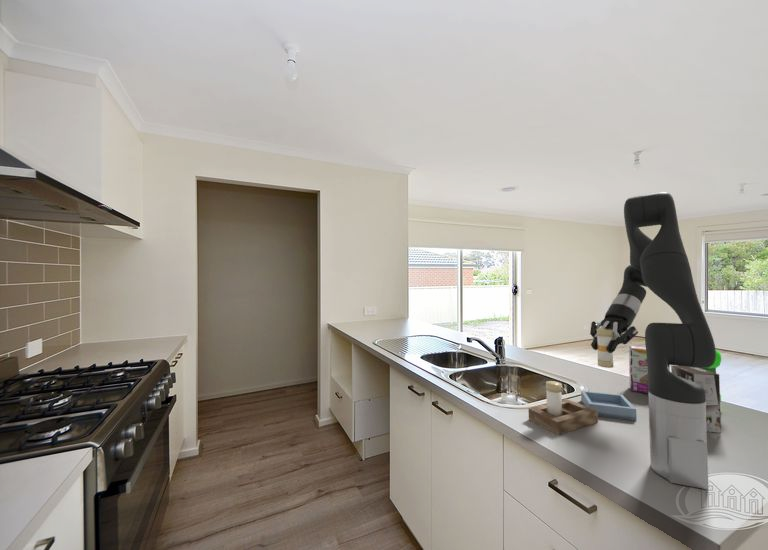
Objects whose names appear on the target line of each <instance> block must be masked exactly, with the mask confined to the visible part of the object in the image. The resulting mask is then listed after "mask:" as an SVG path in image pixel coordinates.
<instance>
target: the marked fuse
mask: <svg viewBox="0 0 768 550" xmlns="http://www.w3.org/2000/svg"><path fill="white" fill-rule="evenodd" d="M612 337H613V332H612V329H606V328H601V327H600V328H597V366H598V367H600V368H606V369H607V368H608V369H612V368H614V357H613V356H614V352H612V353H608V351H607V350H606V348H607V346H608V344H609V342H610V341H611V340H613V339H612Z"/></svg>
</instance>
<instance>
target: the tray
mask: <svg viewBox="0 0 768 550" xmlns="http://www.w3.org/2000/svg"><path fill="white" fill-rule="evenodd" d="M580 401H581V402H583V403H582V405H584V406H587V407H589V408H592V409H594V410H597V411H598V417H603V418H612V419H618V420H625V421H626V420H627V421H628V420H629V421H635V422H636V421H637V408H636V407H635V406H634V405H633V404H632V403H631V402H630V401H629V400H628V399H627V397H626V396H625V395H623V394H619V393H618V394H617V393H611V392H610V393H608V392H598V391H586V390H581V391H580Z"/></svg>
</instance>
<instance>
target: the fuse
mask: <svg viewBox="0 0 768 550" xmlns="http://www.w3.org/2000/svg"><path fill="white" fill-rule="evenodd" d="M545 390H546V391H545V392H546V404H547V413H548V414H550V415H552V416H555V417H559V416H562V400H563V399H562V397H563V395H562V393H563V384H562V383H561V382H559V381H556V380H555V381H554V380H547V381H546V382H545Z"/></svg>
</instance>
